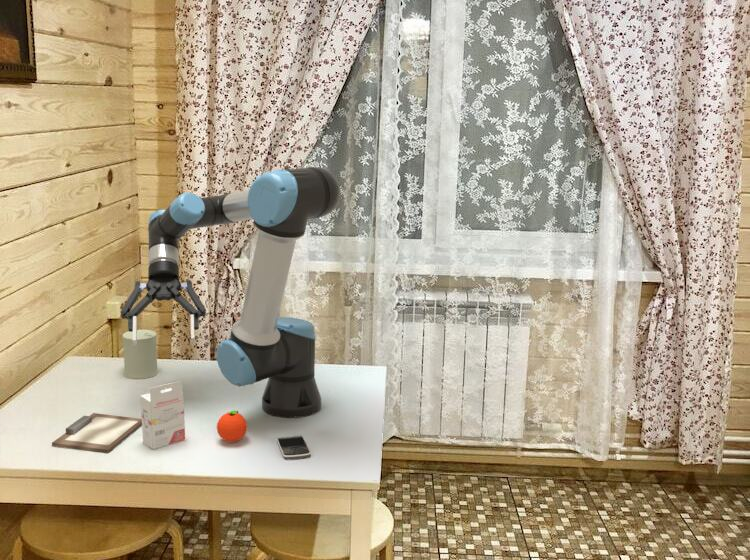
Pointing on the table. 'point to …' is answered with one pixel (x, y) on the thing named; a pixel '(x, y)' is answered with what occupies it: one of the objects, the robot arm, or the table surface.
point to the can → (140, 355)
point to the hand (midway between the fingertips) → (163, 341)
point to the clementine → (232, 426)
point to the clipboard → (98, 432)
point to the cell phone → (293, 447)
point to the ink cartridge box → (163, 415)
